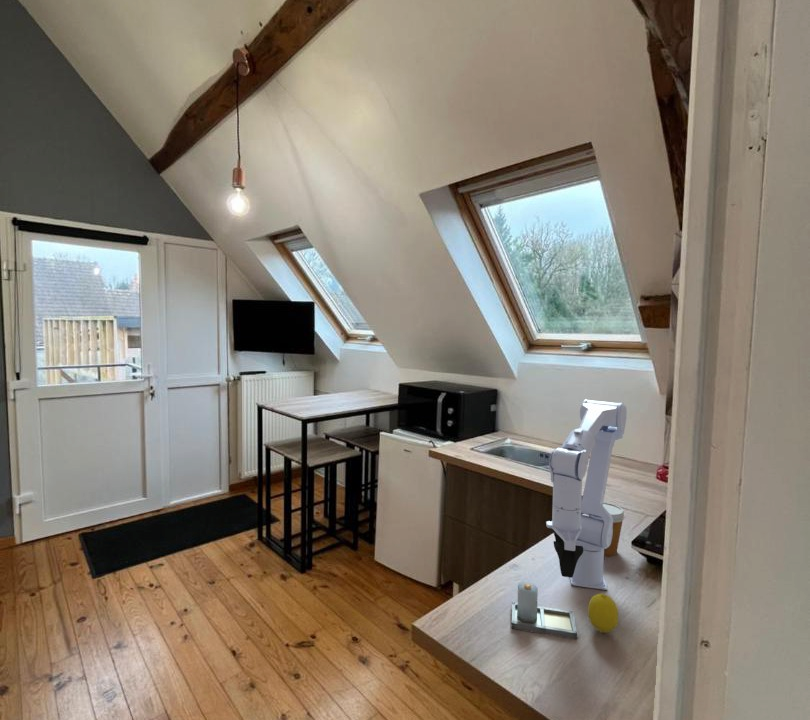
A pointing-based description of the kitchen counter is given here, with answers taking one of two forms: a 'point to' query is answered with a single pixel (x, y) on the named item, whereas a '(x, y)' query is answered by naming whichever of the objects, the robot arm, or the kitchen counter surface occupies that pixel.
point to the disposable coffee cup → (617, 524)
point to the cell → (527, 602)
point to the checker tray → (548, 622)
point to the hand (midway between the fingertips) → (564, 566)
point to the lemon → (603, 613)
